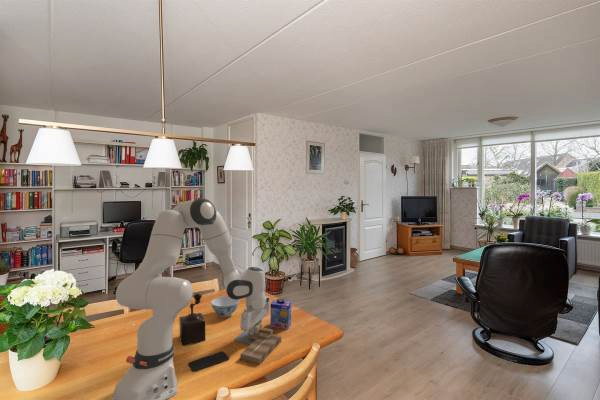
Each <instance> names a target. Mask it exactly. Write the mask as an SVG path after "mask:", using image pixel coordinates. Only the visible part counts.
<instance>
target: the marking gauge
mask: <svg viewBox="0 0 600 400" xmlns="http://www.w3.org/2000/svg"><path fill="white" fill-rule="evenodd" d="M253 330H255V333H254V334H253V335H250V331H249V330H248V338H250V339H254V340H256V339H257V338H258V337H260V336H261V335H262V334H263V333H264V334H269V335H271V334H273V329H271V328H266V327H263V323H262V322H261V323H257V324H256V325H254V328H253Z"/></svg>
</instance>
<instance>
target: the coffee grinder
mask: <svg viewBox="0 0 600 400" xmlns="http://www.w3.org/2000/svg"><path fill="white" fill-rule="evenodd" d="M202 297H203V295H202V293H200V292H198V293H194V294H193V299H194V301H195V302H194V303H193V302H191V303H189V304H190V305H189V309H190V314H187V315H183V316H182V315H181V316H179V320H178V321H179V323H178V324H179V340H180V344H181V346H187V345H189V346H190V345H193V344H197V343H202V342H206V341H207V340H206V335H207V334H206V319H205V318H204V316H203V313H202V312H199V313H196V312H194V306H196V305H199V304H201V302H202V301H201V299H202Z"/></svg>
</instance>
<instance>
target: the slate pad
mask: <svg viewBox="0 0 600 400" xmlns="http://www.w3.org/2000/svg"><path fill="white" fill-rule="evenodd" d="M232 341H234V342H238V343H242V344H246V345H249V346H250V345H251V344H252V343H253V342H254V341H255V340H254V339H250V338H248V331H244V330H243V331H242V332H241V333H240V334H239V335H238V336H236V337H235V338H234V339H233V340H232Z"/></svg>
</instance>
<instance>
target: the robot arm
mask: <svg viewBox="0 0 600 400" xmlns="http://www.w3.org/2000/svg"><path fill="white" fill-rule="evenodd" d="M190 228H191V229H194V228H198V230H200V233H201V235H202V238H203V241H204V243H205V245H206V247H207V249H208V251H209V252H210V254H212V255H214V257H216V259H217V261H218V264H219V267H220V270H221V272H222V281H221V283H222V286H223V288H224V290H225V292H226V294H227V296H229V297H230V298H231V299H235V300H237V299H239V300H241V299H245V307H246V308H245V309H243V312H242V313H241V316H240V329H241V331H243V332H244V331H248V330H249V331H250V335H253V334H254V333H255V330H253V328H254V325H256V324H257V323H261V324H262V322H263V319H264V318H266V317H267V316H268V315H269V312H270V301H271V297H270V296H268V295H267V296H266V294H265V289H266V275H265V271H264V270H263V269H261V268H259V267H257V266H250V267H248V268H247V269H245V270H244V271H243V272H240V271H239V270H238V269H237V268H236V266H235V263H234V261H233V258H232V255H231V248H232V237H231V234H230V231H229V228H228V225H227V224H226V221H225V220H224V218H223V216H222V215H221V213H220V212H219V211H218V210H216V207H215V205H214V204H213V202H211V201H210V200H209V199H206V198H196V199H192V200H191V199H190V200H186V201H184V202H181V203H177V204H174V205H173V206H171V208H170V209H165V210H162V211H160V212H159V214H158V215H157V217H156V219H155V222H154V224H153V226H152V230H151V233H150V237H149V242H148V245H147V249H146V252H145V255H144V258H143V259H142V262H141V263H140V264H139V265H138V267H137V268H136V269H135V270H134V272H132V273H131V274H130V275H129V276H126V278H123V279H122V280H121V281H120V282H119V284H118V286H117V288H116V290H115V298H116V302H117V303H118V304H119V305H120V306H122V307H125V308H129V309H132V310H133V309H134V310H135V309H136V310H151V311H152V316H150V317H149V318H148V319H145V320H144V321H143V322H141V324H140V325H139V327H138V329H137V334H136V336H137V337H136V338H137V342H136V343H137V345H136V346H137V347H136V348H137V349H136V350H135V355H134V356H132V355H128V356H126V359H125V362H126V363H128V364H131V366H130V367H128V368H129V369H128V370H127V371H126V372H125V373H124V374H123V376H122V377H121V379H120V380H119V381H118V383H117V384H116V385H115V387H114V393H113V397H112V398H110V399H109V400H166V399H167V400H169V399H170V398H172V397H173V396H175V395H176V394H177V393H178V387H177V386H178V378H177V376H176V375H177V374H176V371H175V365H174V354H175V353H174V352H175V346H174V345H175V344H174V342H173V335H174V334H173V331H174V324H175V320H176V318H177V316H178V315H179V313H180V312H181V311H182V310H184V309H185V308H186V307H188V305H189V304H191V303H190V302H191V301H192V299H193V296H194V292H193V291H194V290H193V286H192V283H191V282H190V281H189V280H187V279H184V278H179V277H175V276H173V277H172V276H162V274H163V273H164V271H165V270H167V268H168V269H169V268H170V267H172V266H174V265H175V264H176V263H177V262H178V260H179V259H180V254H181V249H182V243H183V239H184V232H185V230H186V229H190ZM168 398H169V399H168Z"/></svg>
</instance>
